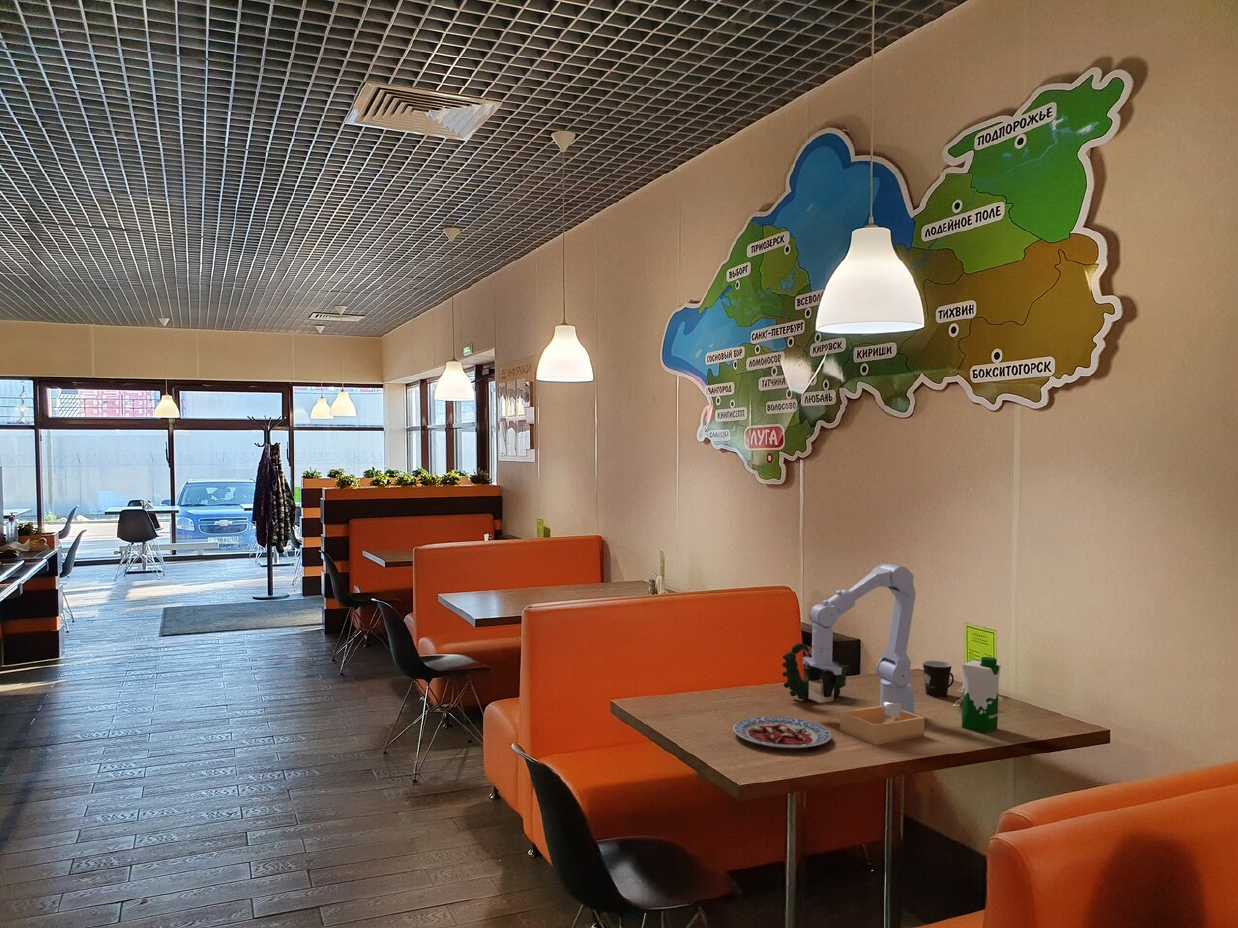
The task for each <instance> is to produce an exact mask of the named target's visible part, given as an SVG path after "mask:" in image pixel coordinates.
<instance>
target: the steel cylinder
mask: <svg viewBox="0 0 1238 928" xmlns="http://www.w3.org/2000/svg"><path fill="white" fill-rule="evenodd" d="M901 713H902V703H901V702H898V701H891V700H887V701H883V718H882V724H883V723H889V722H895V721H901Z"/></svg>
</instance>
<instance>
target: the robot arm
mask: <svg viewBox="0 0 1238 928" xmlns="http://www.w3.org/2000/svg"><path fill="white" fill-rule="evenodd" d="M914 577H915V576H914V574H913V573H912V571H910V569H909V568H908V567H906V566H901V565H900V566H899V565H896V564H891V563H889V562H882V563H880V564H879V565H878V566H876V567H874V568H873V569H872V570H871V572H870V573H869V574H867V575H866V576H865V577H863V578H862V579H861V580H860V581H859V582H857V583H856V584H855V585H853V586H852V587H851V588H849V589H848V590H847V589H840V590H839V589H838V590H836V591H835V594H834V595H833V596H830V598H828V599H824V600H823V601H822V604H821V603H819V604H815V605H814V606H813V607H812V608H811V609H810V612H809V613H808V619H809V621H811V627H812V632H811V633H812V636H811V646H812V647H811V657H809V656H804V657H802V665H805V667H803V671H804V673H805V674H806V678H808V680H809V681H813V680H820V676H821V677H822V681H823V692H824V697H831V695H832V692H833V688H834V685H835V683H836V681H837V679H838V678H839V676H840V675H841V674H842V668H841V667H839V666H837V665H835V664H834V663H832V661H833V642H834V641H833V640H834V639H833V637H834V635H833V634H834V633H833V632H834V630H833V629H834V626H835V625H836V623H837V621H838V618H840V617H841V616H842V615H843V614H845V613H846V612H847V613H848V611H849V610H851V609H852V608H853V607H855V606H856V600H858V599H860V598H861V597H863V596H865V595H866V594H868V593H870V592H871V591H873V590H875V589H876V588H878V587H883V588H888V590H889V591H890V592H891V593H892V594H893V596H894V603H893V604H894V605H893V612H892V616H891V624H890V627H889V628H890V629H889V635H888V643H887V646H886V650H884V651H883V652H881V654H880V655H881V656H880V659H879V661H878V662H877V664H876V671H875V672H876V674H877V676H878V677H879V681H880V693H879V695H880V699H879V700H880V702H879V703H880V704H879V706H883V701H887V700H891V701H898V702H901V703H902V710H904V711H907V712H910V713H912V714H915V715H917V714H916V712H915V690H914V688H913V686H912V685H911V680H912V677H913V676H912V673H913V672H912V670H911V663H912V662H911V660H910V658H909V656H908V654H907V651H908V644H909V638H910V634H911V633H910V632H911V626H912V625H911V624H912V620H913V614H914V609H915V608H914V606H915V601H916V600H915V599H916V589H915V585H914ZM822 670H825V671H826V672H822ZM821 672H822V673H821Z"/></svg>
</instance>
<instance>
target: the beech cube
mask: <svg viewBox="0 0 1238 928" xmlns="http://www.w3.org/2000/svg"><path fill="white" fill-rule="evenodd" d="M834 697H835V696H834V688H833V692H832V695H831V697H824V692H823V681H822V679H820V680H813V681H809V699H808V700H810V699H812V700H814V701H813V702H817V703H819V704H820V703H828V702H834V699H835V698H834Z"/></svg>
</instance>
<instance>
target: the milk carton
mask: <svg viewBox="0 0 1238 928" xmlns="http://www.w3.org/2000/svg"><path fill="white" fill-rule="evenodd" d="M980 659H981V660H980V661H979V660H971V661H968V662H965V663H963V664H961V666H962V694H961V695H962V697H961V699H962V700H961V728H963V729H966V730H972V731H974V732H975V731H976V732H979V733H984V734H988V733H990V732H993V731H995V730H997V729H998V721H999V720H998V718H999V717H998V716H999V714H998V713H999V684H1000V683H999V682H1000V681H999V680H1000V674H1001V665H1000V664H999V663H998V664H997V661H998V660H997V658H996V657H993V656H982V657H981V658H980Z"/></svg>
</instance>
